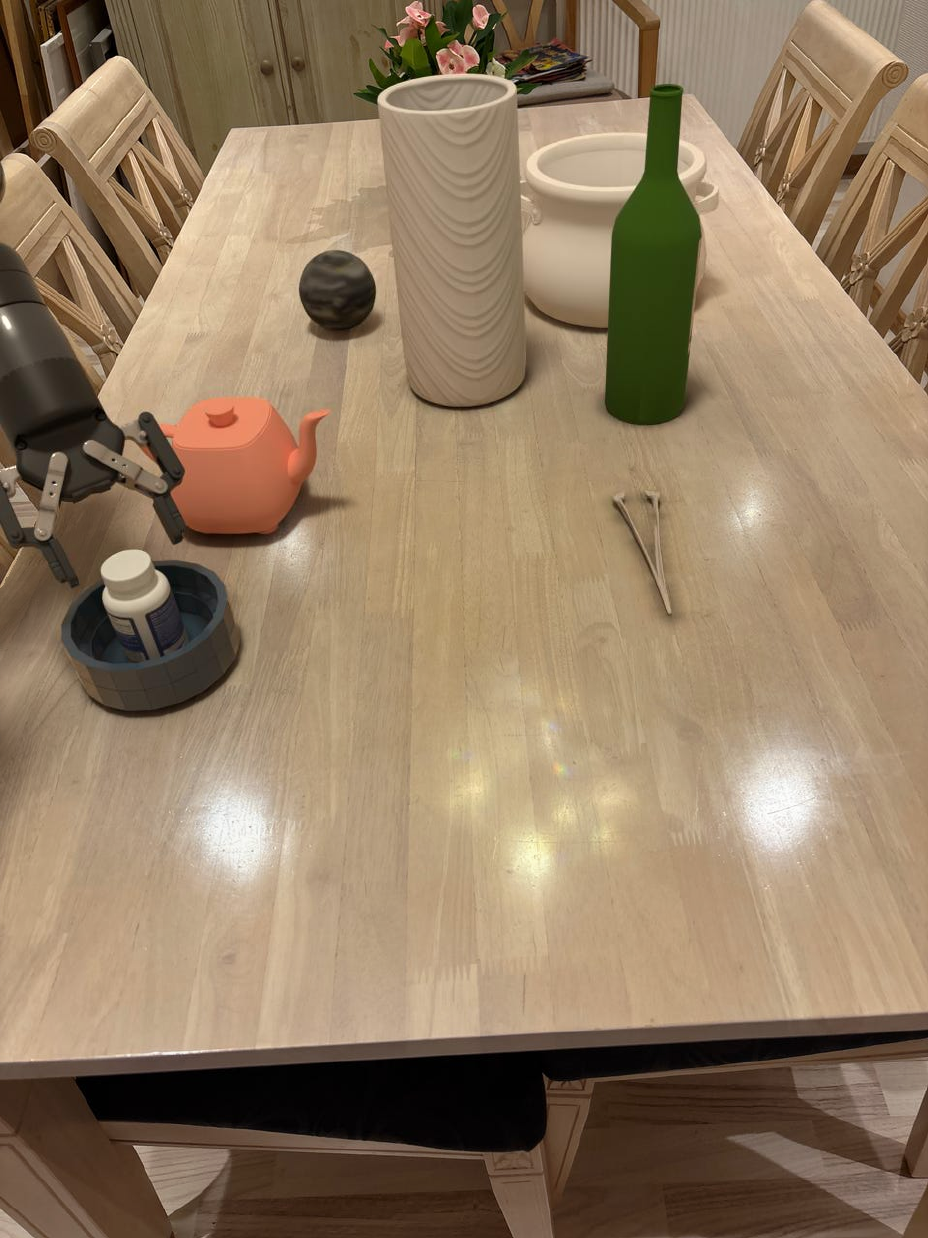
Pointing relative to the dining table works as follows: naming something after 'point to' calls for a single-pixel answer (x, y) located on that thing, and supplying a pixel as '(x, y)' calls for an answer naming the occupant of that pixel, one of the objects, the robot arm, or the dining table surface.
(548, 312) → the pot
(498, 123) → the vase
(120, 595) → the pill bottle
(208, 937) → the dining table surface
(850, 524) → the dining table surface
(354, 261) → the decorative stone
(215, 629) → the bowl
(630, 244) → the wine bottle
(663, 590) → the jawbone
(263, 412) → the teapot
